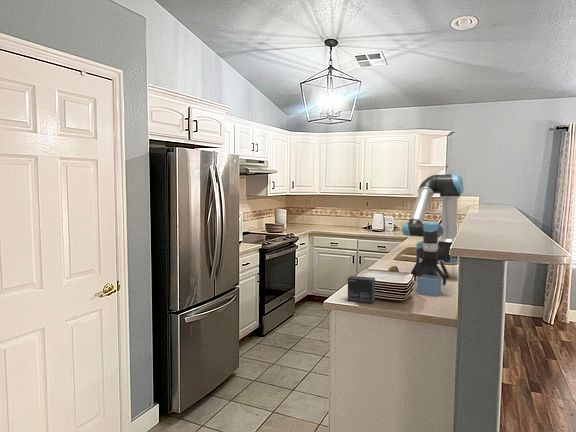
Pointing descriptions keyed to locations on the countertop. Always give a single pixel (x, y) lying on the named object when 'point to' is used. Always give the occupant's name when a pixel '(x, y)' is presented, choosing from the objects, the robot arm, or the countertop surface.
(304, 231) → the countertop surface
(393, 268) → the rock
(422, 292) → the grey-blue square block
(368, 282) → the small box
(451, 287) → the countertop surface
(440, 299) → the countertop surface
